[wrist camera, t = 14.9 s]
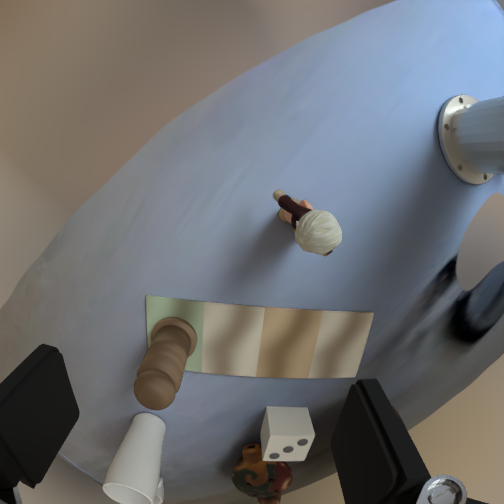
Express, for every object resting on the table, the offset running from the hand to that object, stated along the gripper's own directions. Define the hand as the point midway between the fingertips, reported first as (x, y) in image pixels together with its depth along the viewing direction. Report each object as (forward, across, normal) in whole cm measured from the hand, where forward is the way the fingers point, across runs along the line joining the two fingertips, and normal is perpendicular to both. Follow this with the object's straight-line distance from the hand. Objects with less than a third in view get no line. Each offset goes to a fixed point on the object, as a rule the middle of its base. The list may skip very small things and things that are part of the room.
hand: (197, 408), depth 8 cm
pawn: (+25, +7, +13) cm, 29 cm away
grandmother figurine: (+26, -6, -3) cm, 27 cm away
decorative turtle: (+25, -6, +37) cm, 45 cm away
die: (+26, -8, +27) cm, 38 cm away
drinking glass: (+25, +12, +30) cm, 40 cm away
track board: (+25, -4, +13) cm, 29 cm away
